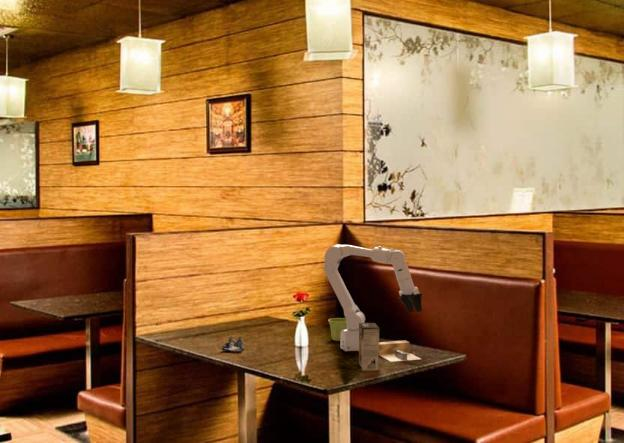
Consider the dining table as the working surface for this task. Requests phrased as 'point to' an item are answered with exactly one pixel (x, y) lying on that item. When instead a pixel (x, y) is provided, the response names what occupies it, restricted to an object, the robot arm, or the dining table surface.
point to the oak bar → (393, 347)
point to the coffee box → (368, 346)
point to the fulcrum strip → (400, 354)
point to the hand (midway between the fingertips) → (415, 311)
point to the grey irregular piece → (234, 345)
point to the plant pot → (337, 327)
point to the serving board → (393, 358)
